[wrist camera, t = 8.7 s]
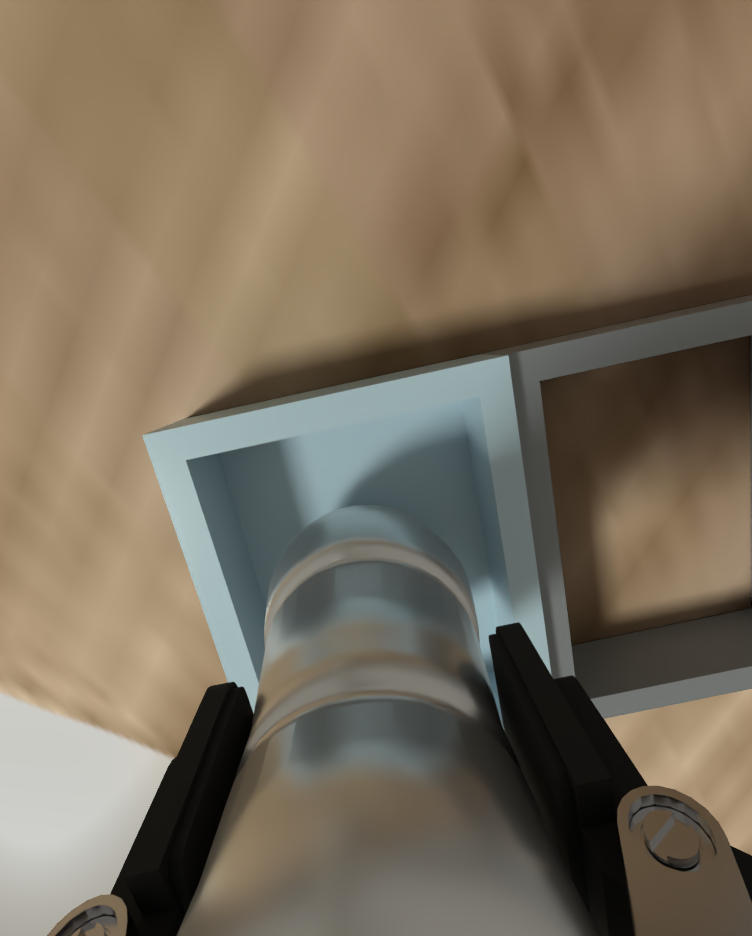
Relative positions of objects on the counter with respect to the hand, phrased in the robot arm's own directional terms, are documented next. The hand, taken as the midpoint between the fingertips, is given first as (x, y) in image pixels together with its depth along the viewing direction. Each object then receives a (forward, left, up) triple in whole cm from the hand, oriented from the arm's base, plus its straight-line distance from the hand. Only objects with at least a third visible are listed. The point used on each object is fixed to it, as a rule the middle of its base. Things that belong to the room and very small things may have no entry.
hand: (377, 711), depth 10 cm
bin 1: (0, 0, -8) cm, 8 cm away
